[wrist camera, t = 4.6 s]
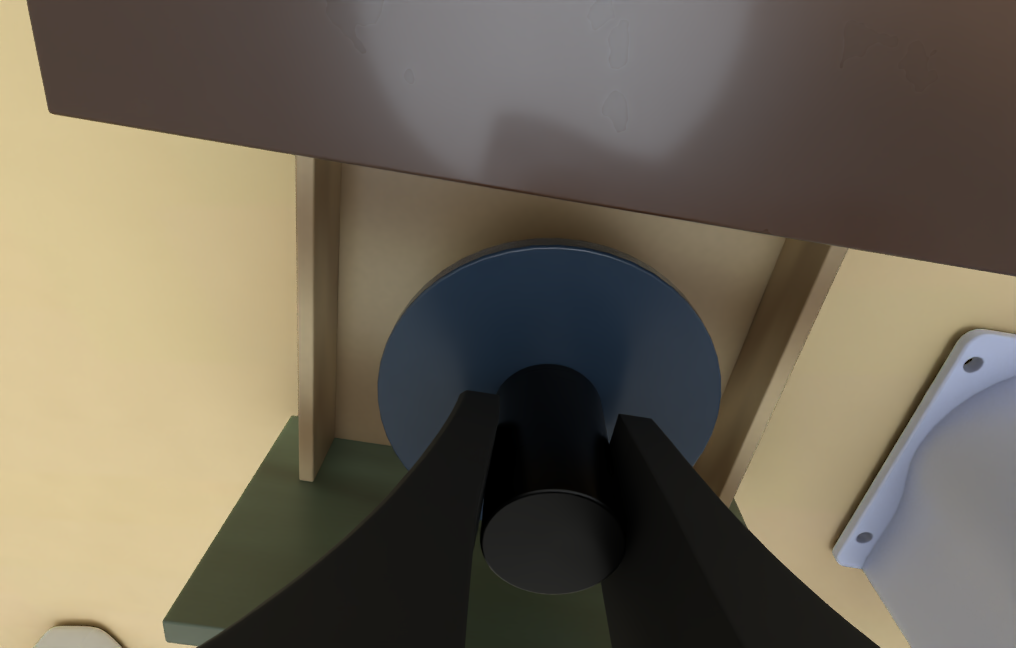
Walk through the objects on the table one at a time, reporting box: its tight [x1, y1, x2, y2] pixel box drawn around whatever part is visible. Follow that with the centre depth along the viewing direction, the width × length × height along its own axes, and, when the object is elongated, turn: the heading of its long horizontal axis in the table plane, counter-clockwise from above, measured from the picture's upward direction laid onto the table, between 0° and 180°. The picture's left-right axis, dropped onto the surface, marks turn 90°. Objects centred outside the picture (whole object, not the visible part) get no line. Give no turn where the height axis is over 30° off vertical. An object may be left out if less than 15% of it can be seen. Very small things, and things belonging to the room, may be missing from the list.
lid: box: [377, 238, 721, 595], centre depth 10 cm, size 7×7×4 cm
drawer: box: [163, 155, 848, 648], centre depth 13 cm, size 18×14×7 cm
